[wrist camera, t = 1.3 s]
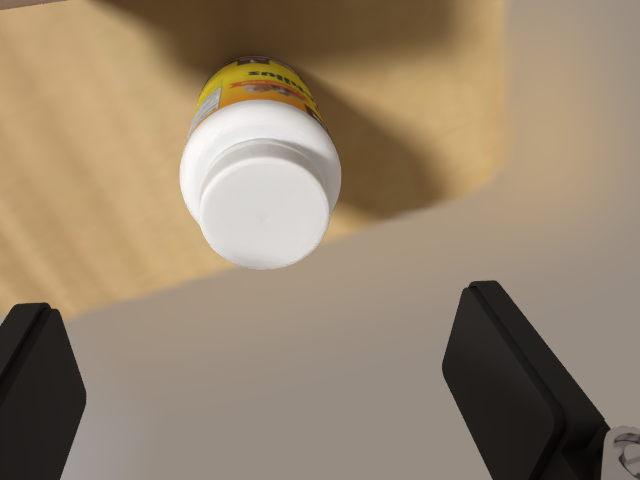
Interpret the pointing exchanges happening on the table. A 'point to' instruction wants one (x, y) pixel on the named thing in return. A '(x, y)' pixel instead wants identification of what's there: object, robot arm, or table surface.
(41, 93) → the table surface
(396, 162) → the table surface
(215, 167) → the supplement bottle
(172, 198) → the table surface
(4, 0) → the footstool
